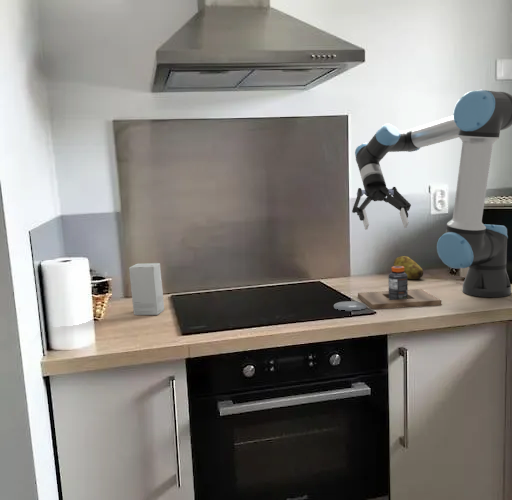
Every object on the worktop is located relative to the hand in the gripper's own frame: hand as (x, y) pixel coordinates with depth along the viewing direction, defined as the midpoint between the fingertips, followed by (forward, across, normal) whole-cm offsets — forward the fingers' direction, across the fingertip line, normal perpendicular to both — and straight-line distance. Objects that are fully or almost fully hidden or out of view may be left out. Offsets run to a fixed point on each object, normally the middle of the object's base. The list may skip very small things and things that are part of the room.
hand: (386, 226), depth 189 cm
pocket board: (+24, 0, -9) cm, 26 cm away
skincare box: (+21, +80, -12) cm, 83 cm away
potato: (0, -16, -33) cm, 37 cm away
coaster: (+27, +17, -6) cm, 32 cm away
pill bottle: (+24, 0, -9) cm, 26 cm away
